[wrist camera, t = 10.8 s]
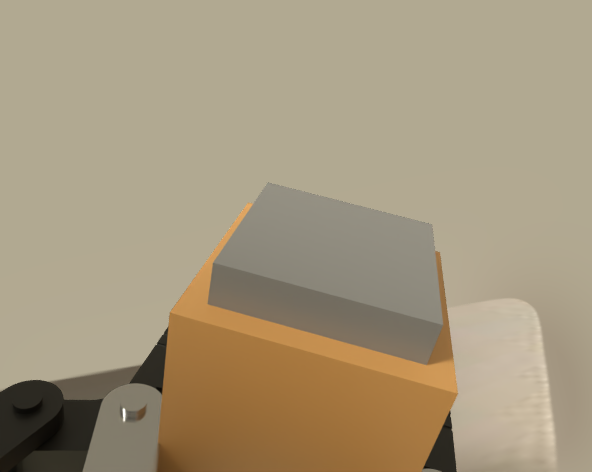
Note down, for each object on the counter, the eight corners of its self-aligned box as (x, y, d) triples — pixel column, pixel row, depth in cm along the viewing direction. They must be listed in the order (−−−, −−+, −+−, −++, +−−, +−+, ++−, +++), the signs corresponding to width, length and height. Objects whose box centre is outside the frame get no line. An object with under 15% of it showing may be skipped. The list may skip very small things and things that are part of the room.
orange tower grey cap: (306, 716, 13) (477, 352, 7) (137, 659, 13) (173, 269, 8) (330, 543, 17) (451, 221, 11) (199, 502, 17) (253, 170, 12)
